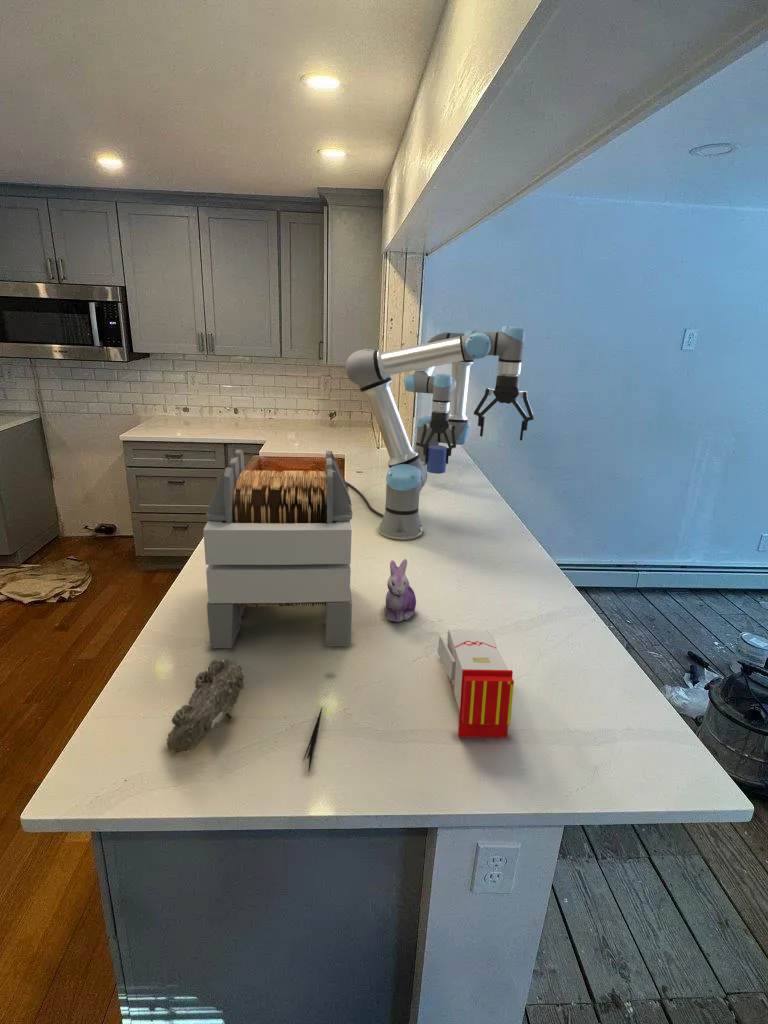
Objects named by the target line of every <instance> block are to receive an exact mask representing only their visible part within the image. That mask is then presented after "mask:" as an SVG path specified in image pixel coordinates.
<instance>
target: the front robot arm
mask: <svg viewBox="0 0 768 1024" xmlns="http://www.w3.org/2000/svg"><path fill="white" fill-rule="evenodd" d="M525 333H526V331H525V329H524V327H522V326H510V325H503V326H502V327H501V329H500V331H497V332H496V331H487V330H486V331H484V330H466V331H465V332H464V333H463V334H464V336H459V337H454V338H449V339H444V340H439V341H435V342H430V343H427V342H426V343H425V342H424V343H419V344H416V345H411V346H406V347H401V348H396V349H392V350H387V351H383V350H382V349H377V348H374V347H366V348H363V349H359V350H356V351H354V352H353V353H351V354H349V356H348V358H347V360H346V363H345V374H346V376H347V377H348V379H349V380H350V382H352V384H353V383H354V384H355V385H357V386H358V387H359V391H360V393H361V394H363V395H365V396H366V397H367V399H368V402H369V405H370V408H371V410H372V413H373V416H374V418H375V421H376V424H377V427H378V429H379V433H380V435H381V438H382V440H383V442H384V446H385V448H386V451H387V453H388V456H389V459H388V463H387V465H388V470H387V471H386V476H385V483H386V484H385V504H384V505H385V507H384V508H385V509H384V513H381V512H379V511H377V510H375V509H374V508H373V507H372V506H371V505H370V502H369V501H368V500H367V498H366V497H365V496H364V495H363V494H362V492H360V490H358V489H357V488H356V487H355V486H354V485H352V484H351V483H349V482H348V481H346V484H347V486H348V487H349V488H350V489H352V490H353V491H355V492H356V493H357V494H358V495H359V496H360V497H361V499H362V500H363V501H364V503H365V504H366V507H367V508H368V509H369V511H371V512H372V513H374V514H375V515H377V516H379V517H381V518H382V519H381V522H379V526H378V533H379V534H380V535H381V536H382V537H385V538H387V539H389V540H395V541H410V540H415V539H418V538H420V537H421V536H422V535H423V531H424V527H423V525H422V524H421V518H420V515H419V507H420V506H419V505H420V494H421V491H422V490H423V488H424V487H425V485H426V483H427V480H428V472H427V469H426V464H423V463H422V462H421V460H420V458H419V455H418V453H417V452H415V451H414V449H413V448H412V446H411V442H410V440H409V437H408V434H407V430H406V429H405V426H404V423H403V421H402V417H401V414H400V412H399V409H398V406H397V404H396V401H395V398H394V395H393V393H392V389H391V385H392V382H393V380H392V377H391V376H393V375H398V374H402V373H407V372H413V371H416V370H419V369H424V368H429V367H434V366H435V367H437V366H443V365H448V364H451V363H454V362H459V361H464V360H470V359H475V360H479V359H483V358H485V357H486V356H493V357H496V356H497V357H498V360H497V369H496V374H497V375H496V379H495V388H494V389H493V388H491V387H486V388H485V390H484V391H485V392H484V395H483V397H482V399H480V401H479V403H478V405H477V406H476V408H475V409H474V411H473V415H474V416H476V417H478V418H477V419H478V420H477V426H478V427H480V431H479V437H483V436H484V430H485V419H486V416H484V415H485V414H487V412H488V411H489V410H490V409H491V408H492V407H493V406H495V404H497V403H500V404H507V405H509V404H512V405H513V406H514V407H515V410H517V412H518V413H519V414H520V416H521V417H522V421H521V427H520V435H519V441H523V438H524V431H525V432H526V431H527V430H528V426H529V425H528V424H529V422H530V421H533V420H535V415H534V413H533V410H532V407H531V405H530V401H529V398H528V391H527V390H524V391H519V387H520V386H519V385H520V375H521V369H522V361H523V360H522V359H523V352H524V346H525V345H524V344H525ZM492 394H493V395H494V397H495V398H494V399H493V400H492V401H491V402H490V403H489V404H488V405H487V406H485V408H483V410H482V411H480V410H481V408H482V407H483V405H484V404H485V402H486V401H487V399H488V397H489V396H491V395H492ZM519 396H520V398H522V399H523V402H524V403H523V404H524V405H525V408H526V411H527V413H526V411H524V409H523V408H522V406H521V404H520V403H519V402H518V400H517V398H518V397H519ZM316 470H318V471H319V472H320V471H321V472H322V471H323V472H324V471H325V472H326V470H325V469H323V468H321V467H316Z"/></svg>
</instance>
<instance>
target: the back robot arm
mask: <svg viewBox="0 0 768 1024" xmlns="http://www.w3.org/2000/svg"><path fill="white" fill-rule="evenodd" d="M464 334H465V333H463V332H442V333H438V334H436V335H434V336H433V337H431V338H430V339H429V340H428V341H427V342H426V343H430V342H435V341H439V340H444V339H449V338H454V337H459V336H464ZM474 360H476V359H470V360H464V361H459V362H454V363H450V364H451V365H452V366H451V375H450V374H445V373H444V374H443V373H438V374H435V375H434V376H432V375H433V372H434V370H435V368H436V366H434V367H429V368H424V369H419V370H414V373H413V374H407V375H406V376H405V379H404V390H405V391H406V392H410V393H414V394H415V393H417V394H431V395H432V400H431V412H430V413H431V414H430V415H428V416H427V415H426V416H422V417H419V418H418V420H417V426H416V441H415V442H416V443H415V448H414V449H413V451H415V452H417V453H418V455H419V458H420V460H421V462H422V463H423V464H424V465H427V457H428V446H429V445H440V444H447V458H446V465H448V464H449V457H451V456H452V451H453V449H456V448H457V445H460V446H463V445H465V444H466V443H467V441H468V437H469V434H470V429H471V422H470V421H468V419H469V418H468V417H467V415H466V410H467V409H466V408H467V401H468V389H469V381H470V380H469V378H470V369H471V366H472V365H474V362H475V361H474Z"/></svg>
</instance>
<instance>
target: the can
mask: <svg viewBox="0 0 768 1024" xmlns="http://www.w3.org/2000/svg"><path fill="white" fill-rule="evenodd" d="M447 448H448V446H446V445H441V444H439V445H429V446H428V457H427V464H426V465H425V467H426V469H427V473H431V474H435V475H436V474H438V475H439V474H441V475H442V474H444V473H446V470H447V469H446V468H447V464H446V458H447Z"/></svg>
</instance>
